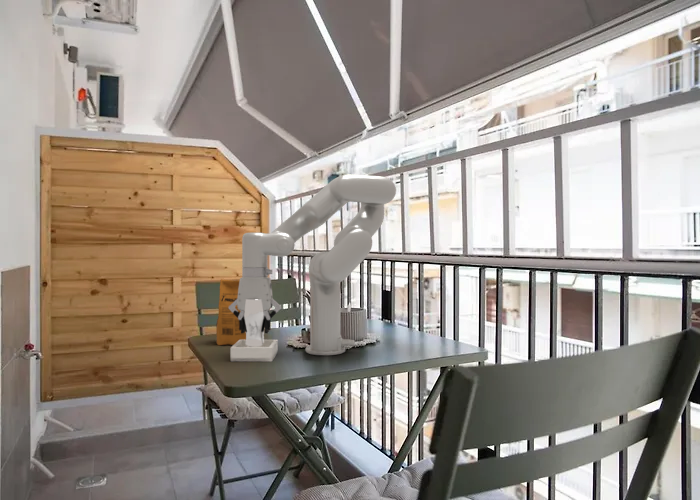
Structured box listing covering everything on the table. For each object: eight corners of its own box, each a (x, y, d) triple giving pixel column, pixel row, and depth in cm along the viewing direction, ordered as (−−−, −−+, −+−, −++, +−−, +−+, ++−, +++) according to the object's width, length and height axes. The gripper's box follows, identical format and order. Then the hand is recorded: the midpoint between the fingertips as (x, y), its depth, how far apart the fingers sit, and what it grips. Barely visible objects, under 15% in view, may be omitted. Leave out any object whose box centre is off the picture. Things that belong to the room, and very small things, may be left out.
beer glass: (238, 348, 147) (238, 298, 147) (251, 344, 153) (251, 296, 153) (258, 350, 144) (258, 299, 144) (270, 346, 151) (270, 297, 151)
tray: (277, 352, 155) (277, 339, 155) (271, 361, 143) (271, 347, 143) (239, 352, 155) (239, 339, 155) (230, 361, 143) (230, 347, 143)
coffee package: (219, 340, 174) (218, 278, 174) (254, 339, 175) (254, 278, 175) (213, 346, 165) (212, 280, 164) (250, 345, 165) (250, 280, 165)
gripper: (285, 272, 152) (285, 330, 153) (229, 272, 152) (229, 330, 153) (282, 274, 145) (281, 335, 145) (223, 274, 145) (223, 334, 145)
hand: (254, 332), depth 149 cm, fingers closed on beer glass, 6 cm apart
